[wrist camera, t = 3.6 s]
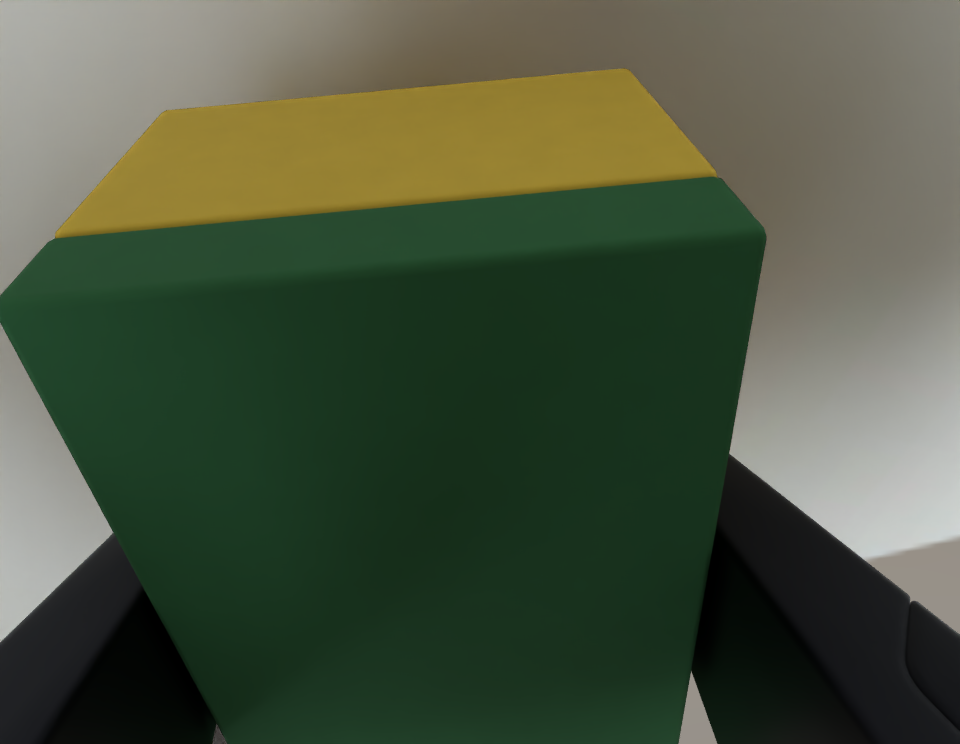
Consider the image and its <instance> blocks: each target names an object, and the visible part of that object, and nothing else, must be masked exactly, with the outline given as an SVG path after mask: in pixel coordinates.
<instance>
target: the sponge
mask: <svg viewBox="0 0 960 744" xmlns="http://www.w3.org/2000/svg"><path fill="white" fill-rule="evenodd" d="M765 244H766V233H765V230H764V228H763V226H762V225H761V224H760V223H759V222H758V220H757V219H756V218H755V217H754V216H753V215H752V213H751V212H750V211H749V210H748V209H747V208H746V206H745V205H744V204H743V203H742V202H741V201H740V199H739V198H738V197H737V196H736V195H735V194H734V192H733V191H732V190H731V189H730V188H729V187H728V185H727V184H726V183H725V182H724V181H723V180H722V179H721V178H717V174H716V170H715V169H714V168H713V167H712V166H711V165H710V163H709V162H708V161H707V160H706V159H705V158H704V156H703V155H702V154H701V153H700V152H699V151H698V149H697V148H696V147H695V146H694V145H693V144H692V142H691V141H690V140H689V139H688V138H687V137H686V135H685V134H684V133H683V132H682V131H681V130H680V129H679V127H678V126H677V125H676V124H675V123H674V122H673V120H672V119H671V118H670V117H669V116H668V115H667V113H666V112H665V111H664V110H663V109H662V108H661V106H660V105H659V104H658V103H657V102H656V101H655V99H654V98H653V97H652V96H651V95H650V94H649V92H648V91H647V90H646V89H645V88H644V87H643V85H642V84H641V83H640V82H639V81H638V80H637V78H636V77H635V76H634V75H633V74H632V73H631V71H630V70H628V69H625V68H622V69H611V70H600V71H589V72H578V73H567V74H556V75H546V76H535V77H524V78H513V79H502V80H491V81H480V82H470V83H459V84H448V85H437V86H426V87H415V88H404V89H394V90H383V91H372V92H361V93H350V94H339V95H328V96H318V97H307V98H296V99H285V100H274V101H263V102H253V103H242V104H231V105H220V106H209V107H198V108H187V109H177V110H166V111H164V112H163V113H161V114H160V115H159V117H158V118H157V119H156V120H155V121H154V122H153V123H152V124H151V126H150V127H149V128H148V129H147V130H146V131H145V132H144V133H143V135H142V136H141V137H140V138H139V139H138V140H137V141H136V142H135V144H134V145H133V146H132V147H131V148H130V149H129V150H128V151H127V153H126V154H125V155H124V156H123V157H122V158H121V159H120V160H119V162H118V163H117V164H116V165H115V166H114V167H113V168H112V169H111V171H110V172H109V173H108V174H107V175H106V176H105V177H104V178H103V180H102V181H101V182H100V183H99V184H98V185H97V186H96V187H95V189H94V190H93V191H92V192H91V193H90V194H89V195H88V196H87V198H86V199H85V200H84V201H83V202H82V203H81V204H80V205H79V207H78V208H77V209H76V210H75V211H74V212H73V213H72V214H71V216H70V217H69V218H68V219H67V220H66V221H65V222H64V223H63V225H62V226H61V227H60V228H59V229H58V230H57V231H56V233H55V238H54V239H53V240H51V241H49V242H47V244H46V245H45V246H44V247H43V248H42V249H41V250H40V251H39V253H38V254H37V255H36V256H35V257H34V258H33V259H32V261H31V262H30V263H29V264H28V265H27V266H26V267H25V268H24V270H23V271H22V272H21V273H20V274H19V275H18V276H17V277H16V279H15V280H14V281H13V282H12V283H11V284H10V285H9V286H8V288H7V289H6V290H5V291H4V292H3V293H2V294H1V295H0V323H1V325H2V327H3V329H4V331H5V333H6V334H7V336H8V338H9V340H10V342H11V344H12V345H13V347H14V349H15V351H16V353H17V355H18V357H19V358H20V360H21V362H22V364H23V366H24V368H25V370H26V371H27V373H28V375H29V377H30V379H31V381H32V382H33V384H34V386H35V388H36V390H37V392H38V394H39V395H40V397H41V399H42V401H43V403H44V405H45V407H46V408H47V410H48V412H49V414H50V416H51V418H52V420H53V421H54V423H55V425H56V427H57V429H58V431H59V432H60V434H61V436H62V438H63V440H64V442H65V444H66V445H67V447H68V449H69V451H70V453H71V455H72V457H73V458H74V460H75V462H76V464H77V466H78V468H79V470H80V471H81V473H82V475H83V477H84V479H85V481H86V482H87V484H88V486H89V488H90V490H91V492H92V494H93V495H94V497H95V499H96V501H97V503H98V505H99V507H100V508H101V510H102V512H103V514H104V516H105V518H106V519H107V521H108V523H109V525H110V527H111V529H112V531H113V532H114V534H115V536H116V538H117V540H118V542H119V544H120V545H121V547H122V549H123V551H124V553H125V555H126V557H127V558H128V560H129V562H130V564H131V566H132V568H133V569H134V571H135V573H136V575H137V577H138V579H139V581H140V582H141V584H142V586H143V588H144V590H145V592H146V594H147V595H148V597H149V599H150V601H151V603H152V605H153V606H154V608H155V610H156V612H157V614H158V616H159V618H160V619H161V621H162V623H163V625H164V627H165V629H166V631H167V632H168V634H169V636H170V638H171V640H172V642H173V644H174V645H175V647H176V649H177V651H178V653H179V655H180V656H181V658H182V660H183V662H184V664H185V666H186V668H187V669H188V671H189V673H190V675H191V677H192V679H193V681H194V682H195V684H196V686H197V688H198V690H199V692H200V694H201V695H202V697H203V699H204V701H205V703H206V705H207V706H208V708H209V710H210V712H211V714H212V716H213V718H214V719H215V721H216V723H217V725H218V727H219V729H220V731H221V732H222V734H223V736H224V738H225V740H226V742H227V743H228V744H678V743H679V737H680V731H681V725H682V720H683V714H684V708H685V702H686V697H687V691H688V685H689V680H690V674H691V668H692V662H693V657H694V651H695V645H696V639H697V634H698V628H699V622H700V617H701V611H702V605H703V599H704V594H705V588H706V582H707V576H708V571H709V565H710V559H711V554H712V548H713V542H714V536H715V531H716V525H717V519H718V514H719V508H720V502H721V496H722V491H723V485H724V479H725V473H726V468H727V462H728V456H729V451H730V445H731V439H732V433H733V428H734V422H735V416H736V410H737V405H738V399H739V393H740V388H741V382H742V376H743V370H744V365H745V359H746V353H747V347H748V342H749V336H750V330H751V325H752V319H753V313H754V307H755V302H756V296H757V290H758V284H759V279H760V273H761V267H762V262H763V256H764V250H765Z"/></svg>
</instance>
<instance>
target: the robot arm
mask: <svg viewBox="0 0 960 744" xmlns="http://www.w3.org/2000/svg"><path fill="white" fill-rule="evenodd" d="M691 671H692V674H693V677H694V679H695V682H696V685H697V688H698V690H699V693H700V696H701V699H702V701H703V704H704V707H705V710H706V713H707V716H708V719H709V721H710V724H711V727H712V729H713V732H714V735H715V738H716V741H717V744H960V634H958V633H957V632H956V631H954V630H953V629H952V628H950V627H949V626H948V625H947V624H945V623H944V622H943V621H941V620H940V619H939V618H938V617H936V616H935V615H934V614H933V613H931V612H930V611H929V610H928V609H926V608H925V607H924V606H922V605H921V604H920V603H919V602H917V601H912V602H910V597H909V595H908V594H907V593H905V592H904V591H903V590H901V589H900V588H899V587H898V586H897V585H895V584H894V583H893V582H892V581H890V580H889V579H888V578H886V577H885V576H884V575H883V574H881V573H880V572H879V571H877V570H876V569H875V568H874V567H872V566H871V565H870V564H869V563H867V562H866V561H865V560H864V559H862V558H861V557H860V556H858V555H857V554H856V553H855V552H853V551H852V550H851V549H850V548H848V547H847V546H846V545H845V544H843V543H842V542H841V541H839V540H838V539H837V538H836V537H834V536H833V535H832V534H831V533H829V532H828V531H827V530H825V529H824V528H823V527H822V526H820V525H819V524H818V523H817V522H815V521H814V520H813V519H811V518H810V517H809V516H808V515H806V514H805V513H804V512H803V511H801V510H800V509H799V508H797V507H796V506H795V505H794V504H792V503H791V502H790V501H789V500H787V499H786V498H785V497H784V496H782V495H781V494H780V493H778V492H777V491H776V490H775V489H773V488H772V487H771V486H770V485H768V484H767V483H766V482H764V481H763V480H762V479H761V478H759V477H758V476H757V475H756V474H754V473H753V472H752V471H750V470H749V469H748V468H747V467H745V466H744V465H743V464H742V463H740V462H739V461H738V460H737V459H735V458H734V457H733V456H731V455H730V454H729V456H728V462H727V468H726V473H725V479H724V485H723V491H722V496H721V502H720V508H719V514H718V519H717V525H716V531H715V536H714V542H713V548H712V554H711V559H710V565H709V571H708V576H707V582H706V588H705V594H704V599H703V605H702V611H701V617H700V622H699V628H698V634H697V639H696V645H695V651H694V657H693V662H692V668H691ZM216 724H217V723H216V721H215V719H214V718H213V716H212V714H211V712H210V710H209V708H208V706H207V705H206V703H205V701H204V699H203V697H202V695H201V694H200V692H199V690H198V688H197V686H196V684H195V682H194V681H193V679H192V677H191V675H190V673H189V671H188V669H187V668H186V666H185V664H184V662H183V660H182V658H181V656H180V655H179V653H178V651H177V649H176V647H175V645H174V644H173V642H172V640H171V638H170V636H169V634H168V632H167V631H166V629H165V627H164V625H163V623H162V621H161V619H160V618H159V616H158V614H157V612H156V610H155V608H154V606H153V605H152V603H151V601H150V599H149V597H148V595H147V594H146V592H145V590H144V588H143V586H142V584H141V582H140V581H139V579H138V577H137V575H136V573H135V571H134V569H133V568H132V566H131V564H130V562H129V560H128V558H127V557H126V555H125V553H124V551H123V549H122V547H121V545H120V544H119V542H118V540H117V538H116V536H115V534H114V533H113V534H112V535H111V536H110V537H109V538H108V539H107V540H106V541H105V542H104V543H103V544H102V545H101V546H99V547H98V548H97V549H96V550H95V551H94V552H93V553H92V554H91V555H90V556H89V557H88V558H87V559H86V560H85V561H84V562H83V563H82V564H81V565H80V566H79V567H78V568H77V569H76V570H75V571H74V572H73V573H72V574H71V575H69V576H68V577H67V578H66V579H65V580H64V581H63V582H62V583H61V584H60V585H59V586H58V587H57V588H56V589H55V590H54V591H53V592H52V593H51V594H50V595H49V596H48V597H47V598H46V599H45V600H44V601H43V602H42V603H41V604H39V605H38V606H37V607H36V608H35V609H34V610H33V611H32V612H31V613H30V614H29V615H28V616H27V617H26V618H25V619H24V620H23V621H22V622H21V623H20V624H19V625H18V626H17V627H16V628H15V629H14V630H13V631H12V632H11V633H9V634H8V635H7V636H6V637H5V638H4V639H3V640H2V641H1V642H0V744H212V742H213V737H214V733H215V728H216Z"/></svg>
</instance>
